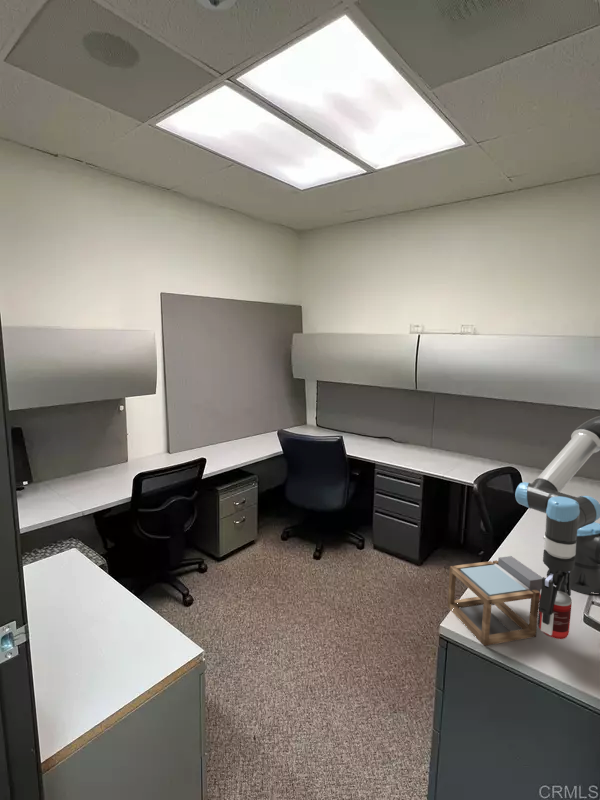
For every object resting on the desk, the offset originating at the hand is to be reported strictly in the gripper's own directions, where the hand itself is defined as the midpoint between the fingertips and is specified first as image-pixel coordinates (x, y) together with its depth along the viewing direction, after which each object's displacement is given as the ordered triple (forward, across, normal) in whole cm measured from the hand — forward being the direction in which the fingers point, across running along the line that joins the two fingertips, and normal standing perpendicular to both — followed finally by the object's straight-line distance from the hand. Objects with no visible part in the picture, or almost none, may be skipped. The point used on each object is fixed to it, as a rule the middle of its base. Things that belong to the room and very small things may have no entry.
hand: (553, 626), depth 121 cm
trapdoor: (-4, 0, -16) cm, 17 cm away
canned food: (+1, 0, 0) cm, 1 cm away
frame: (+7, +3, -17) cm, 19 cm away
